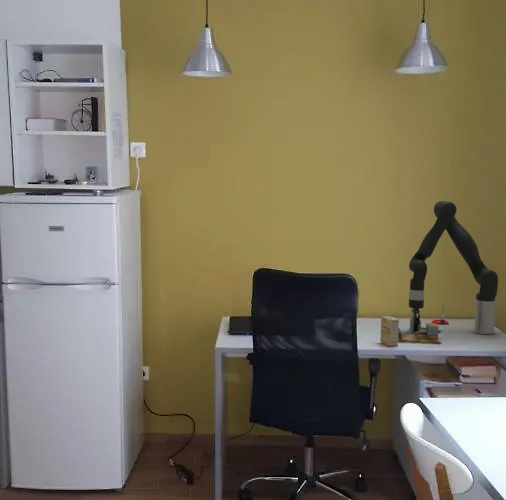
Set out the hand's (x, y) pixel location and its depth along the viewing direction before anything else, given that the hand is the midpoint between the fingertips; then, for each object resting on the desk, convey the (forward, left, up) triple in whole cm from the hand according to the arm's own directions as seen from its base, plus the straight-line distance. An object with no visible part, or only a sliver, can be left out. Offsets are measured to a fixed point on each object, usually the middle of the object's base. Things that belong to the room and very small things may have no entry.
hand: (414, 330), depth 336 cm
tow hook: (-17, -28, -2) cm, 33 cm away
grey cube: (-7, +13, 0) cm, 15 cm away
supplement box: (+15, +24, -2) cm, 28 cm away
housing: (0, 0, -1) cm, 1 cm away
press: (0, +13, -1) cm, 13 cm away
